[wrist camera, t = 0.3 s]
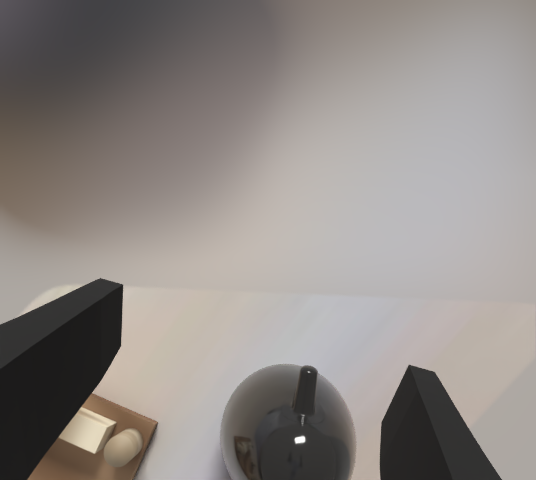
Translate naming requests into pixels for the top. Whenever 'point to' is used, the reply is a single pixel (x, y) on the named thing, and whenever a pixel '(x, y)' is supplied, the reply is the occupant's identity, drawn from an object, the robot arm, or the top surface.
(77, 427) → the hinged leg
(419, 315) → the top surface
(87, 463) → the stool seat
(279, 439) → the dark grey tapered dome
